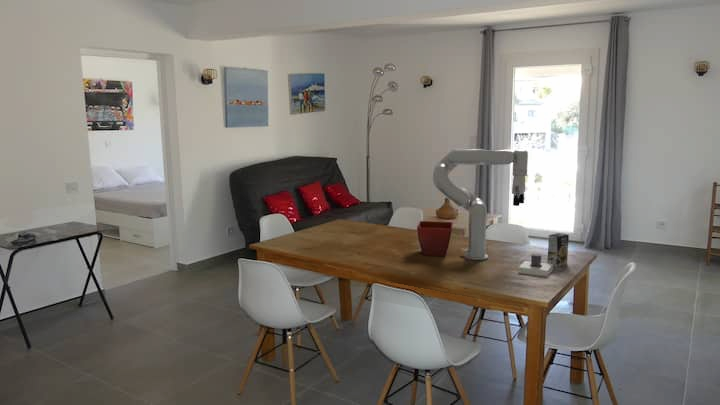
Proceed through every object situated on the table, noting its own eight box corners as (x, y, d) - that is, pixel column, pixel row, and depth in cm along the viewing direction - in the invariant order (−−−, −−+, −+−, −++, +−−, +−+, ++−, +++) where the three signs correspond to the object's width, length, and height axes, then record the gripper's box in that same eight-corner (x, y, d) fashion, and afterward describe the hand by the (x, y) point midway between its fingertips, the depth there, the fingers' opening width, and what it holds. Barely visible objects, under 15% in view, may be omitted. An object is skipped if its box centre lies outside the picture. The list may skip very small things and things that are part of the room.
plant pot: (450, 258, 308) (451, 228, 306) (416, 256, 312) (416, 227, 309) (452, 250, 327) (452, 222, 324) (419, 248, 330) (420, 221, 328)
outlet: (518, 272, 278) (518, 267, 278) (524, 266, 290) (525, 260, 290) (547, 276, 271) (547, 270, 271) (552, 269, 283) (553, 264, 283)
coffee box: (557, 267, 289) (559, 236, 286) (546, 264, 294) (548, 234, 291) (567, 264, 294) (569, 234, 291) (557, 262, 299) (558, 232, 297)
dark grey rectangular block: (530, 270, 280) (531, 255, 279) (532, 268, 284) (533, 253, 282) (539, 271, 278) (539, 256, 277) (540, 269, 282) (541, 254, 280)
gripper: (516, 171, 308) (515, 201, 311) (508, 174, 294) (507, 206, 296) (530, 171, 305) (529, 202, 307) (522, 174, 290) (521, 207, 292)
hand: (518, 204), depth 302 cm, fingers open, 9 cm apart
